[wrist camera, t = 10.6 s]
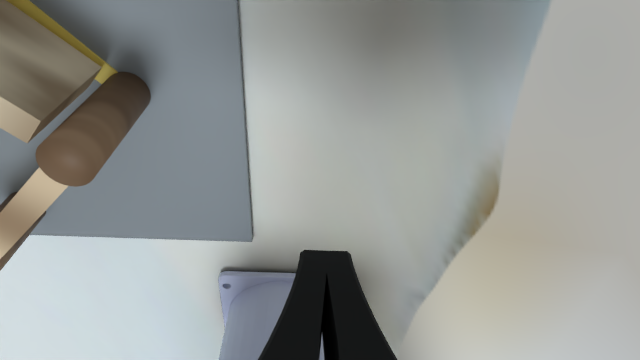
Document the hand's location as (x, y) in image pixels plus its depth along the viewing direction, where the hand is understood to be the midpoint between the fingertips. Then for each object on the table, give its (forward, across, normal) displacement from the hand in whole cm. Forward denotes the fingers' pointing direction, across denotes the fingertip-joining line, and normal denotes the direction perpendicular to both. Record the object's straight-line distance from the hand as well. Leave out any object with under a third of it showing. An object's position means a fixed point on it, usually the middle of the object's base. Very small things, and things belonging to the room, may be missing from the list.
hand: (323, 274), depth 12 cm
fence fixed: (+10, +13, +3) cm, 16 cm away
